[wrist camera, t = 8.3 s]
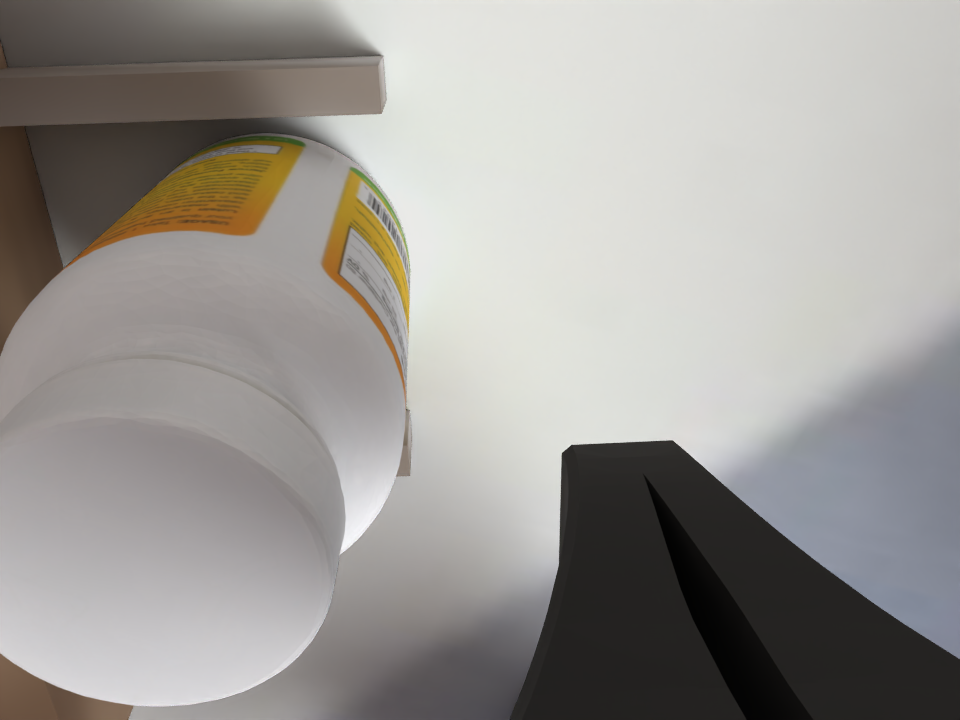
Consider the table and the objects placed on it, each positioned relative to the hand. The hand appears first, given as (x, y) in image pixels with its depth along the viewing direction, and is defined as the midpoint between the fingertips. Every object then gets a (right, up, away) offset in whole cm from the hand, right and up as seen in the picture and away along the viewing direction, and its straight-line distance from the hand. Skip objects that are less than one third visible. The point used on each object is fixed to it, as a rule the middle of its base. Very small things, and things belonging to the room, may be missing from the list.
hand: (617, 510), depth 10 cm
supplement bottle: (-6, +4, +7) cm, 10 cm away
